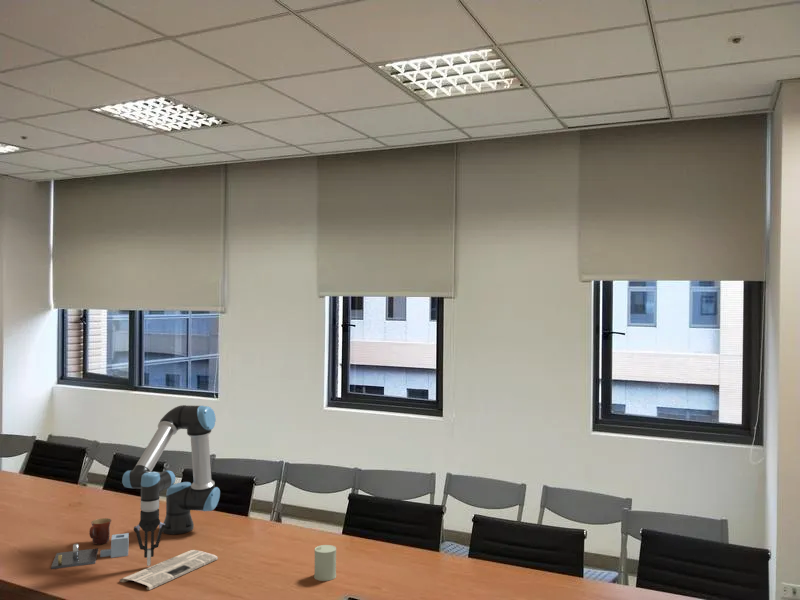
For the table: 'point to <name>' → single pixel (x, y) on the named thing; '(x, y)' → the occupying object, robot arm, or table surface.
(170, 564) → the newspaper
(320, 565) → the can
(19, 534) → the table surface
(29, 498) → the table surface
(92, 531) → the mug
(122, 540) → the hollow square cube
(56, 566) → the post plate
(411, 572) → the table surface
